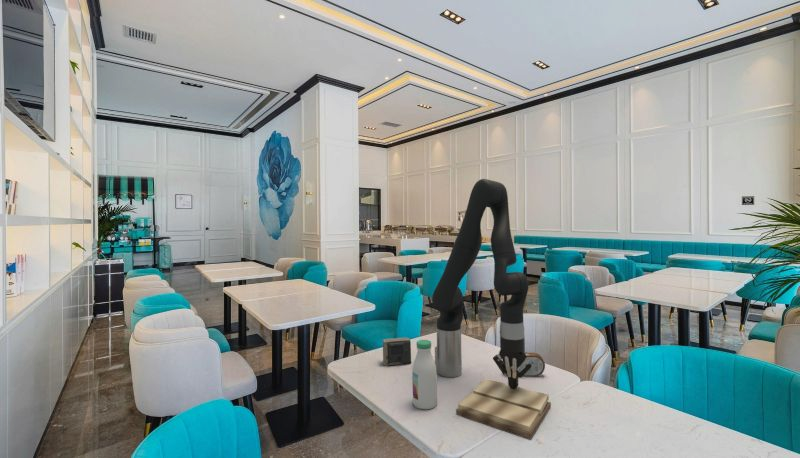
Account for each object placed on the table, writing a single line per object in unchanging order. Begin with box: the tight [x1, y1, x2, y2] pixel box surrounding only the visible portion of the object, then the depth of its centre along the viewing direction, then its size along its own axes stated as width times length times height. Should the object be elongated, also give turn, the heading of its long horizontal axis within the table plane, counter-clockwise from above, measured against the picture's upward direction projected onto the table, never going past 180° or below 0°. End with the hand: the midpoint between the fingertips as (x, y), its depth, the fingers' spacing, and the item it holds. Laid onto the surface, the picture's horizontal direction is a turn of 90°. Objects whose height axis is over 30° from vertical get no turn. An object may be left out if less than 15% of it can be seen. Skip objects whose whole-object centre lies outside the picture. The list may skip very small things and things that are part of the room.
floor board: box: [455, 392, 552, 440], centre depth 110 cm, size 22×20×3 cm
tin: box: [502, 351, 546, 378], centre depth 134 cm, size 15×3×8 cm, turn 84°
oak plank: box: [472, 377, 550, 415], centre depth 114 cm, size 21×9×2 cm, turn 53°
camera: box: [382, 337, 412, 366], centre depth 148 cm, size 11×6×10 cm, turn 98°
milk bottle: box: [411, 339, 438, 410], centre depth 115 cm, size 8×8×20 cm
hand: (513, 387), depth 117 cm, fingers closed
